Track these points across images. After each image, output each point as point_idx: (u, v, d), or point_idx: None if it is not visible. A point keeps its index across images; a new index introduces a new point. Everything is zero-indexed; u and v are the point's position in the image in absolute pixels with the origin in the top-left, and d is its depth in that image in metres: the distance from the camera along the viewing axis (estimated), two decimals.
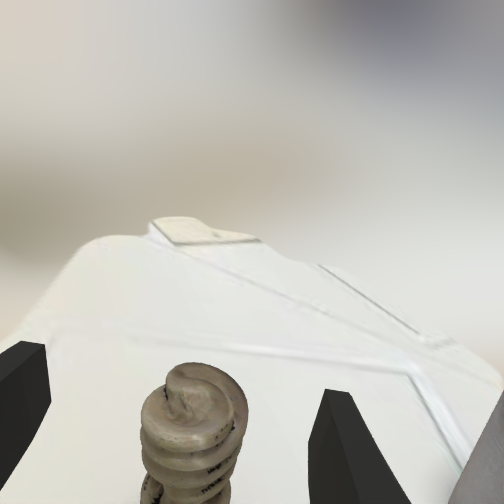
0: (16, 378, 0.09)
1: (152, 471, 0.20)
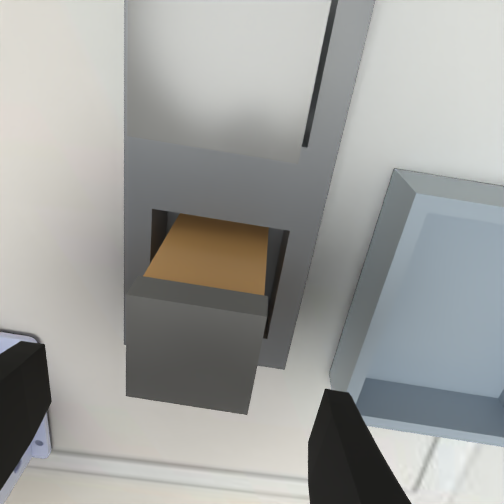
0: (17, 378, 0.09)
1: None
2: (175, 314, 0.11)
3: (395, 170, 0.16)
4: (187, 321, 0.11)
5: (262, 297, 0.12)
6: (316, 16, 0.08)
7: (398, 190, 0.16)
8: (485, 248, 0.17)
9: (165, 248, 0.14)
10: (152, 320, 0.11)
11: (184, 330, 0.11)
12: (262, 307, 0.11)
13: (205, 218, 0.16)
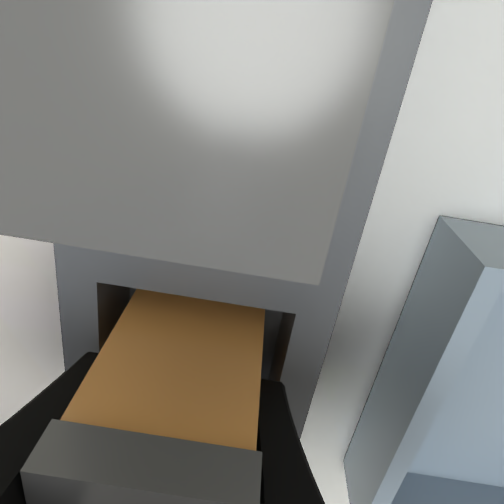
0: None
1: None
2: (105, 499, 0.07)
3: (441, 219, 0.12)
4: None
5: (253, 456, 0.07)
6: None
7: (449, 250, 0.11)
8: None
9: (110, 349, 0.09)
10: None
11: None
12: (251, 483, 0.07)
13: None
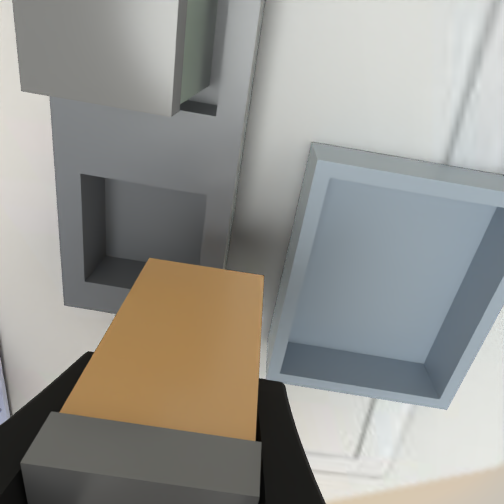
0: None
1: None
2: (106, 490, 0.07)
3: (312, 143, 0.18)
4: (126, 500, 0.07)
5: (252, 446, 0.07)
6: None
7: (311, 160, 0.17)
8: (398, 217, 0.19)
9: (109, 343, 0.09)
10: (69, 496, 0.07)
11: None
12: (251, 473, 0.07)
13: (175, 280, 0.12)
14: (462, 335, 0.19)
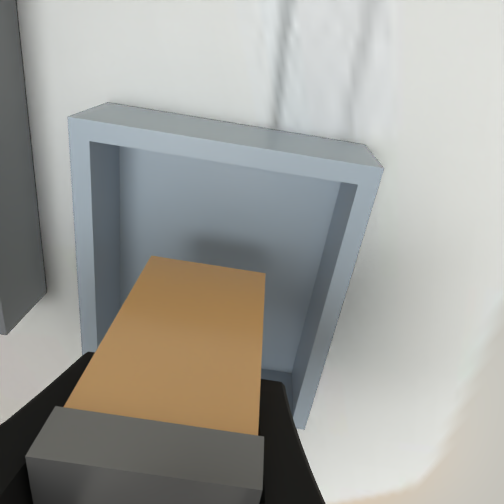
0: None
1: None
2: (110, 483, 0.07)
3: (105, 104, 0.14)
4: (131, 492, 0.07)
5: (255, 440, 0.07)
6: None
7: None
8: (226, 196, 0.15)
9: (111, 339, 0.09)
10: (73, 490, 0.07)
11: None
12: (254, 466, 0.07)
13: (177, 277, 0.12)
14: (310, 341, 0.16)
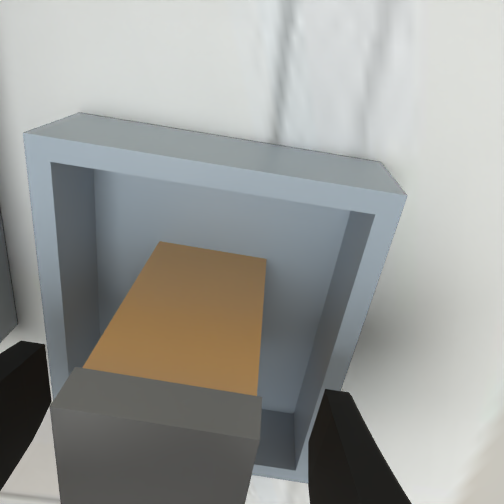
0: (16, 378, 0.09)
1: None
2: (124, 433, 0.07)
3: (76, 114, 0.12)
4: (142, 442, 0.08)
5: (254, 400, 0.08)
6: None
7: None
8: (218, 221, 0.13)
9: (124, 313, 0.10)
10: (91, 439, 0.08)
11: (139, 453, 0.08)
12: (252, 421, 0.08)
13: (184, 261, 0.13)
14: (315, 387, 0.14)
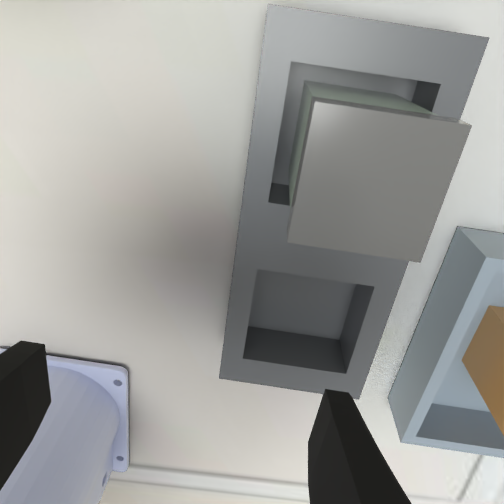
0: (17, 378, 0.09)
1: None
2: None
3: (459, 228, 0.19)
4: None
5: None
6: (448, 164, 0.10)
7: (464, 248, 0.18)
8: None
9: None
10: None
11: None
12: None
13: None
14: None
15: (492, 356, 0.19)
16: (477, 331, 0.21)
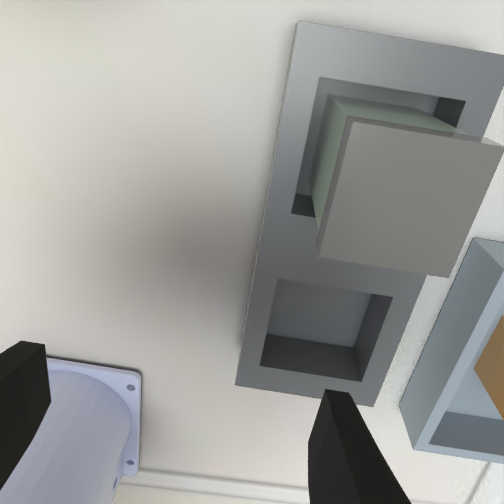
0: (17, 378, 0.09)
1: None
2: None
3: (475, 240, 0.19)
4: None
5: None
6: (480, 183, 0.10)
7: (480, 259, 0.18)
8: None
9: None
10: None
11: None
12: None
13: None
14: None
15: None
16: (490, 340, 0.21)
